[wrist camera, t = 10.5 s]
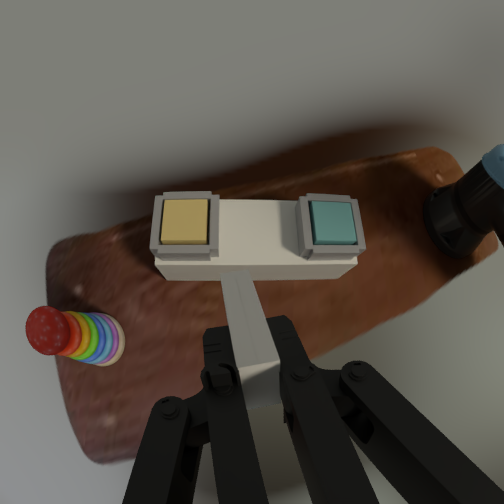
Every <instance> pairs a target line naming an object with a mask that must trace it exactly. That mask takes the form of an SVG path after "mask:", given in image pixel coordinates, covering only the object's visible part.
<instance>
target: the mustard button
mask: <svg viewBox="0 0 504 504" xmlns="http://www.w3.org/2000/svg"><path fill="white" fill-rule="evenodd" d="M208 220H209V210H208V201H207V199H189V200H165V203H164V212H163V222H162V233H161V241H162V243H163V245H208Z"/></svg>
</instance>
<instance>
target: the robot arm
mask: <svg viewBox="0 0 504 504" xmlns="http://www.w3.org/2000/svg"><path fill="white" fill-rule="evenodd" d="M423 215H424V221H425V225H426V228H427V230H428V233H429V235H430V237H431V238H432V240H433V241H434V243H435V244H436V245H437V247H438V248H439V249H440V250H441V251H442V252H444V253H445V254H446V255H448V256H450V257H453V258H463V257H465V256H467V255H469V254H471V253H472V252H473V251H475V249H476V248H477V247H478V245H479V244H480V243H481V242H482V240H483V239H484V238H485V236H486V235H487V234H488V233H490V232H492V231H495V233H496V234H497V236H498V238H499V240H500V241H501V243H502V245H503V247H504V144H500V145H497V146H496V147H494V148H493V149H492V150H491V151H490V152H489V153H486V154H484V156H483V157H482V160H480V161H479V162H478V163H477V164H476V165H475V166H474V167H473V168H472V169H470V170H469V171H468V172H467V173H466V174H465V175H464V176H463V177H461V178H460V179H459V180H458V181H457V182H455V183H452V184H449V185H446V186H442V187H439V188H437V189H435V190H434V191H433V192H432V193H431V194H429V195H428V197H427V198H426V200H425V202H424V207H423ZM220 277H221V283H222V290H223V296H224V303H225V309H226V315H227V321H228V326H222V327H215V328H208V329H206V331H205V333H204V335H203V349H204V362H205V367H204V369H203V370H202V371H201V376H200V377H201V380H202V384H203V389H202V390H201V391H200V392H199V393H198V394H196V395H194V396H192V397H190V398H187V399H185V400H182V399H181V398H178V397H175V396H170V397H165V398H162V399H160V400H159V401H157V402H156V403H155V405H154V406H153V408H152V411H151V414H150V417H149V420H148V423H147V426H146V429H145V432H144V435H143V438H142V441H141V444H140V447H139V450H138V453H137V456H136V459H135V463H134V466H133V469H132V473H131V476H130V479H129V482H128V486H127V489H126V492H125V496H124V499H123V503H122V504H192V503H193V497H194V492H195V487H196V481H197V476H198V470H199V465H200V459H201V454H202V449H203V445H204V444H206V443H209V442H210V443H211V451H212V459H213V466H214V474H215V481H216V487H217V494H218V500H219V504H269V502H268V499H267V495H266V491H265V487H264V483H263V479H262V475H261V470H260V466H259V462H258V458H257V453H256V449H255V445H254V440H253V436H252V432H251V427H250V423H249V418H248V413H247V410H248V409H254V408H259V407H264V406H270V405H274V404H279V403H281V400H282V403H283V406H284V423H287V426H288V429H289V432H290V435H291V438H292V442H293V445H294V448H295V451H296V454H297V457H298V461H299V464H300V467H301V470H302V473H303V476H304V479H305V482H306V485H307V488H308V491H309V495H310V497H311V501H312V503H313V504H379V502H378V499H377V497H376V495H375V492H374V490H373V488H372V486H371V484H370V481H369V479H368V477H367V475H366V472H365V470H364V468H363V466H362V463H361V462H360V459H359V457H358V455H357V452H356V450H355V448H354V446H353V443H352V441H351V439H350V437H351V438H352V439H353V441H354V442H355V443H356V444H357V445H358V447H359V448H360V449H361V450H362V451H363V452H364V454H365V455H366V456H367V457H368V458H369V459H370V461H371V462H372V463H373V464H374V465H375V466H376V468H377V469H378V470H379V471H380V472H381V473H382V474H383V476H384V477H385V478H386V479H387V480H388V481H389V482H390V484H391V485H392V486H393V487H394V488H395V489H396V490H397V491H398V493H400V495H401V496H402V497H403V498H404V499H405V500H406V501H407V502H408V504H504V491H502V490H501V489H500V488H499V487H498V486H497V485H496V484H495V483H494V482H493V481H492V480H491V479H490V478H489V477H488V476H487V475H486V474H484V472H482V471H481V470H480V469H479V468H478V467H477V466H476V465H475V464H474V463H473V462H472V461H471V460H470V459H469V458H468V457H467V456H466V455H464V453H462V452H461V451H460V450H459V449H458V448H457V447H456V446H455V445H454V444H453V443H452V442H451V441H450V440H449V439H448V438H447V437H445V435H444V434H443V433H442V432H440V431H439V430H438V429H437V428H436V427H435V426H434V425H433V424H432V423H431V422H430V421H429V420H428V419H427V418H426V417H425V416H424V415H423V414H421V413H420V412H419V411H418V410H417V409H416V408H415V407H414V406H413V405H412V404H411V403H410V402H409V401H408V400H407V399H405V397H404V396H403V395H402V394H400V393H399V392H398V391H397V390H396V389H395V388H394V387H393V386H392V385H391V384H390V383H389V382H388V381H387V380H386V379H385V378H384V377H383V376H382V375H381V374H380V373H378V372H377V371H376V370H375V369H374V368H373V367H372V366H371V365H369V364H368V363H366V362H363V361H351V362H348V363H347V364H345V365H344V366H343V367H342V370H325V369H321V368H318V367H316V366H315V365H314V364H312V363H311V362H310V360H309V358H308V356H307V354H306V352H305V350H304V347H303V345H302V343H301V341H300V339H299V337H298V334H297V332H296V331H295V328H294V325H293V323H292V321H291V320H290V319H288V318H287V317H286V316H285V315H282V316H277V317H271V318H265V316H264V313H263V310H262V307H261V304H260V301H259V298H258V295H257V292H256V290H255V287H254V284H253V281H252V278H251V275H250V272H249V269H247V270H240V271H234V272H227V273H221V274H220ZM349 436H350V437H349Z"/></svg>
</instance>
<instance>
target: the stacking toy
mask: <svg viewBox="0 0 504 504" xmlns="http://www.w3.org/2000/svg"><path fill="white" fill-rule="evenodd" d="M26 335H27V338H28V341H29V343H30V344H31V346H32V347H33V348H34V349H35V350H37V351H38V352H39V353H42V354H44V355H56V354H58V355H61V356H67V357H70V358H72V359H75V360H78V361H81V362H85V363H89V364H95V365H98V366H108V365H111V364H113V363H115V362H116V361H117V360H118V359H119V358H120V357H121V355H122V353H123V350H124V347H125V337H124V333H123V330H122V328H121V326H120V324H119V323H118V322H117V321H116V320H115V319H114V318H113V317H111V316H109V315H107V314H103V313H97V312H92V313H81V312H74V311H66V312H60V311H59V310H57V309H55V308H53V307H50V306H42V307H38V308H36V309H35V310H33V311H32V312H31V313H30V315H29V317H28V319H27V322H26Z"/></svg>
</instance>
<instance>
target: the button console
mask: <svg viewBox="0 0 504 504" xmlns="http://www.w3.org/2000/svg"><path fill="white" fill-rule="evenodd" d="M189 199H207V201H208V210H209V220H208V245H163V243H162V241H161V233H162V222H163V212H164V203H165V200H189ZM312 201H321V202H341V203H350V204H351V210H352V215H353V221H354V227H355V233H356V239H357V241H356V242H355V243H354V244H353V245H313V241H312V232H311V223H310V215H309V206H310V204H311V202H312ZM150 250H151V252H152V253H153V255H154V256H155V266H156V267H157V268H158V270H159V271H160V272H161V273H162V275H163V276H164V277H165V278H166V280H196V281H221V277H220V274H221V273H227V272H234V271H240V270H247V269H249V272H250V275H251V278H252V280H307V279H337V278H339V277H340V276H342V275H343V274H344V273H346V272H347V271H349V270H350V269H351V268H353V267H354V266H355V265H357V264H358V263H357V256H358V255H359V254H361V253H362V252H363V251H364V250H366V246H365V239H364V233H363V228H362V222H361V217H360V211H359V206H358V201H357V199H350V196H348V195H331V194H312V193H307V194H306V196H305V197H303V196H300V197H299V199H298V201H284V200H219V195H211V191H205V192H204V191H203V192H202V191H199V192H198V191H197V192H164V193H163V196H155V203H154V211H153V220H152V229H151V239H150Z"/></svg>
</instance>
